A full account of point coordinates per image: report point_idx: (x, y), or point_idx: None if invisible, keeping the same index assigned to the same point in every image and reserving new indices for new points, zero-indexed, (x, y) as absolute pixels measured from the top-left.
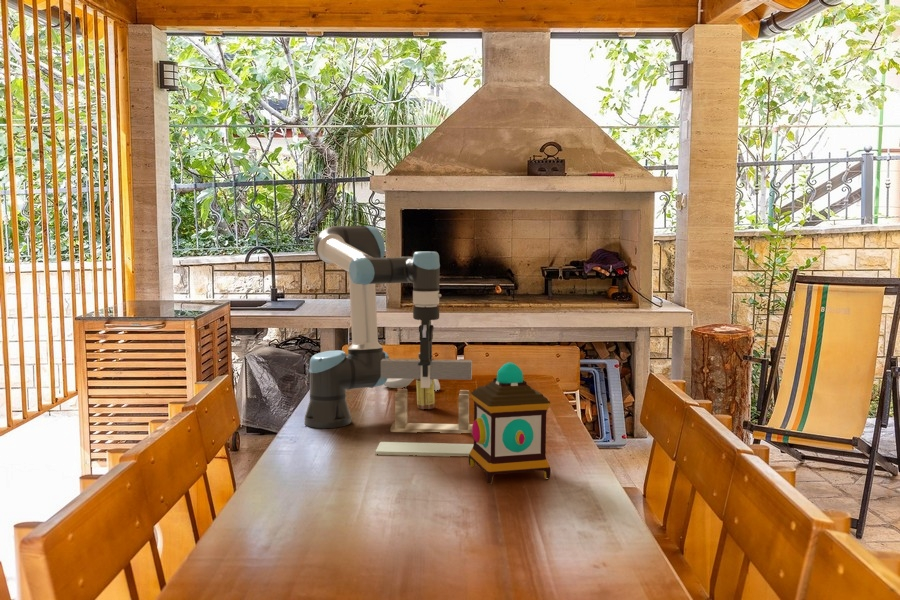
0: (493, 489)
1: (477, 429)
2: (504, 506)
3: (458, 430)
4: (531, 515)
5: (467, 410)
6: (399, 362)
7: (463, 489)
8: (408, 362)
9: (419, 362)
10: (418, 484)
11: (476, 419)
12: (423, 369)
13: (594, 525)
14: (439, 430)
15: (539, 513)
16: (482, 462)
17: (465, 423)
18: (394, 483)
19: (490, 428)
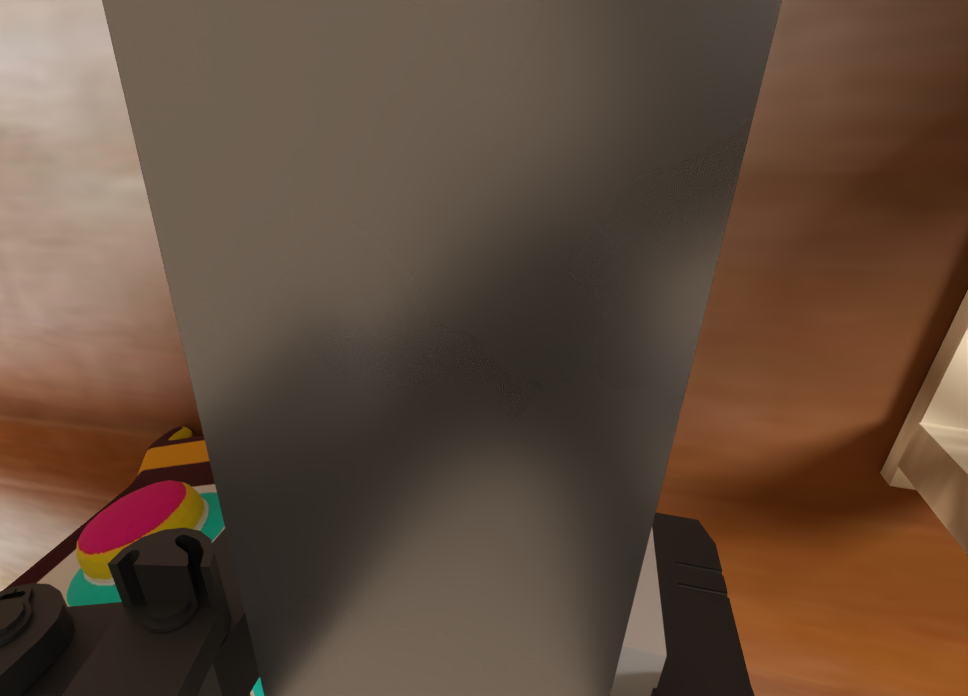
0: (150, 432)
1: (87, 525)
2: (39, 436)
3: (917, 420)
4: (13, 480)
5: (963, 544)
6: (142, 24)
7: (120, 352)
8: (215, 356)
9: (262, 599)
10: (112, 203)
11: (96, 557)
12: (226, 544)
13: (19, 569)
14: (964, 321)
15: (32, 497)
16: (193, 451)
17: (921, 477)
18: (89, 102)
19: (65, 573)
